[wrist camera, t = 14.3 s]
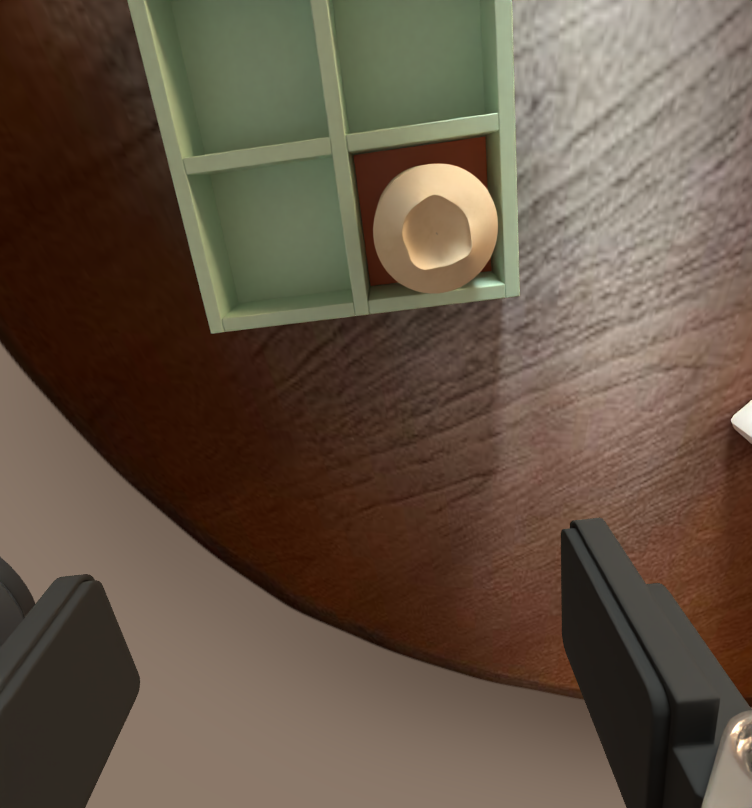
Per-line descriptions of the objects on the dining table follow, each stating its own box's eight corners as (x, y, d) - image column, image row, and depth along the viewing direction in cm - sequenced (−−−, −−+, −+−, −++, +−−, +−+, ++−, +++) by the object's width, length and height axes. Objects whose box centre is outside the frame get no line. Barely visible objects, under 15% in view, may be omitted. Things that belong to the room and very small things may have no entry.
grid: (231, 314, 36) (210, 333, 31) (155, -11, 29) (116, -42, 25) (503, 280, 34) (520, 296, 30) (490, -67, 28) (509, -109, 23)
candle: (490, 201, 32) (532, 214, 23) (434, 282, 34) (452, 324, 24) (411, 144, 31) (421, 133, 21) (358, 231, 33) (347, 255, 23)
